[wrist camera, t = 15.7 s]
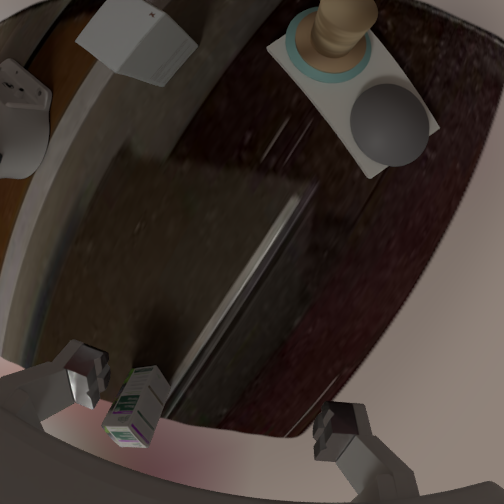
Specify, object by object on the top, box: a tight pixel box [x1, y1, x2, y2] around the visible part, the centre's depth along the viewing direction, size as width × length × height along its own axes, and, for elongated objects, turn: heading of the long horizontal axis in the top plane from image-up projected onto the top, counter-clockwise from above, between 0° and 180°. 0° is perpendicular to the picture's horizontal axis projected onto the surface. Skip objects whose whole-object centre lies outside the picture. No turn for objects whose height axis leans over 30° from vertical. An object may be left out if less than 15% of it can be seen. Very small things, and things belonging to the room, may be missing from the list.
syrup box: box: [101, 365, 171, 448], centre depth 45 cm, size 6×6×14 cm
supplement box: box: [75, 0, 198, 87], centre depth 27 cm, size 7×7×13 cm
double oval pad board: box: [267, 7, 440, 179], centre depth 32 cm, size 22×12×3 cm, turn 39°
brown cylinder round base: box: [295, 0, 378, 74], centre depth 24 cm, size 8×8×11 cm
